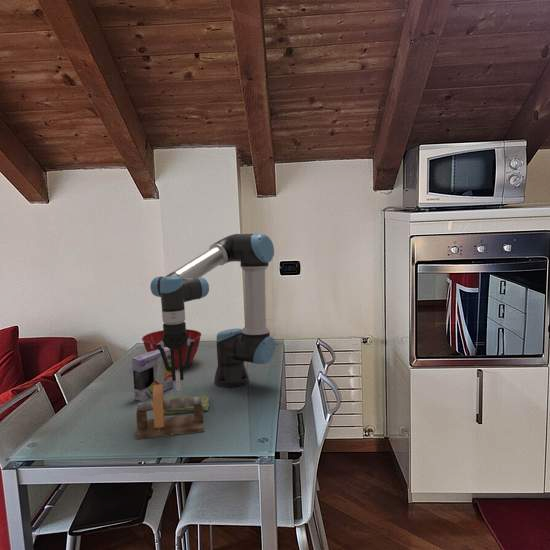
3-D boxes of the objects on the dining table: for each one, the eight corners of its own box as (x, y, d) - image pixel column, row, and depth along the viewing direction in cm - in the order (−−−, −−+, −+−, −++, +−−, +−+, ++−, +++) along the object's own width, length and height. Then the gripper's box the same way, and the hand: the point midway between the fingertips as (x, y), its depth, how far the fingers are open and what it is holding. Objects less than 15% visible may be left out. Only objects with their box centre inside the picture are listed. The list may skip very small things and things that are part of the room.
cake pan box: (140, 403, 192) (137, 359, 190) (131, 400, 194) (128, 357, 192) (175, 388, 208) (172, 347, 206) (166, 386, 210) (164, 346, 208)
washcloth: (209, 413, 180) (209, 404, 180) (161, 417, 178) (160, 408, 178) (209, 400, 193) (209, 392, 193) (164, 403, 191) (163, 395, 191)
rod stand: (202, 417, 175) (200, 390, 174) (204, 431, 164) (202, 402, 162) (139, 424, 171) (137, 396, 170) (136, 439, 159) (134, 409, 158)
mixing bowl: (208, 369, 232) (207, 338, 230) (147, 378, 221) (145, 345, 220) (195, 355, 258) (194, 326, 256) (140, 362, 247) (138, 332, 246)
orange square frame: (164, 414, 172) (162, 384, 171) (163, 426, 161) (161, 394, 160) (155, 415, 171) (153, 384, 170) (154, 427, 161) (152, 395, 159)
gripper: (153, 326, 159) (158, 395, 162) (194, 322, 161) (198, 391, 164) (154, 321, 166) (159, 387, 169) (193, 318, 169) (197, 383, 172)
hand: (178, 389), depth 167 cm, fingers closed
